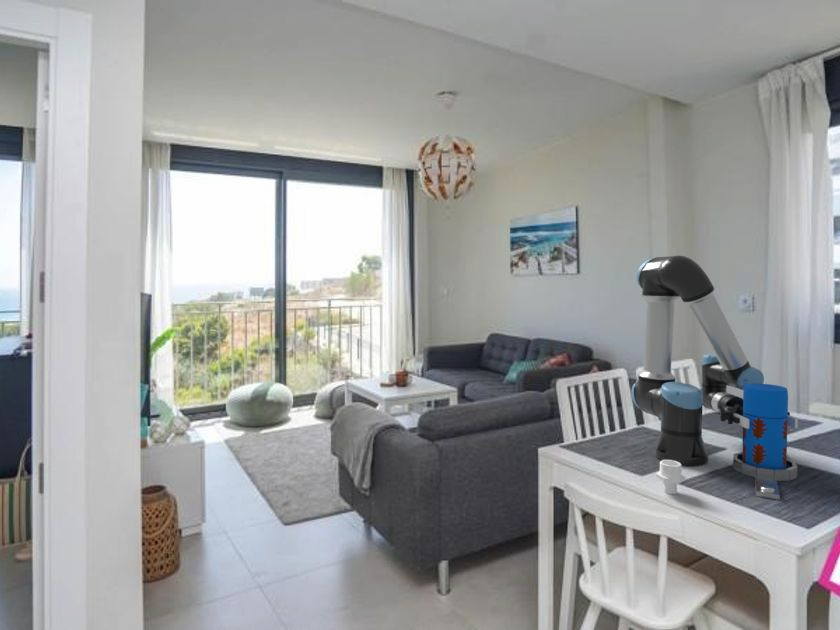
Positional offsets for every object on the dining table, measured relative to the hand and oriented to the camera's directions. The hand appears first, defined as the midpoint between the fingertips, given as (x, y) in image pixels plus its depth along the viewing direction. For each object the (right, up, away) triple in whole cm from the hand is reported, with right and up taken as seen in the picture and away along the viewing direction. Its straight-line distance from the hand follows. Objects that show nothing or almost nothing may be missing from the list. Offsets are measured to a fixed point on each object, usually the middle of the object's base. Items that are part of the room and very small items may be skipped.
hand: (772, 423), depth 145 cm
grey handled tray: (0, -15, +3) cm, 15 cm away
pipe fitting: (-34, -17, -9) cm, 39 cm away
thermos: (0, -15, +4) cm, 16 cm away
